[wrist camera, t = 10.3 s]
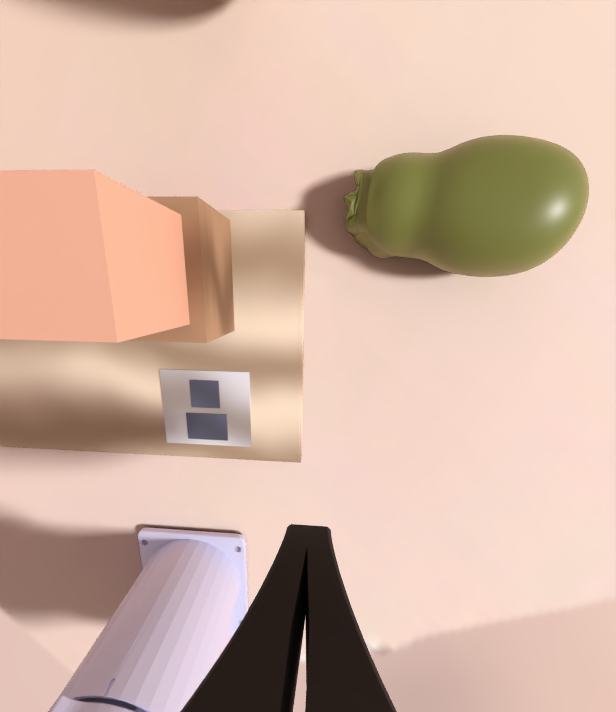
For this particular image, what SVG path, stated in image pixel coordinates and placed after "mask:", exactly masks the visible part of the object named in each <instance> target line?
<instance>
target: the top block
mask: <svg viewBox="0 0 616 712" xmlns="http://www.w3.org/2000/svg"><path fill="white" fill-rule="evenodd" d="M189 324H190V320H189V308H188V295H187V282H186V270H185V257H184V244H183V232H182V219H181V214H179V213H177V212H175V211H173V210H171V209H169V208H167V207H165V206H163V205H161V204H159V203H157V202H155V201H153V200H151V199H150V198H148V197H146V196H144V195H142V194H140V193H138V192H136V191H134V190H132V189H130V188H128V187H126V186H124V185H122V184H120V183H118V182H117V181H115V180H113V179H111V178H109V177H107V176H105V175H103V174H101V173H99V172H97V171H95V170H10V171H0V339H10V340H45V341H80V342H115V343H118V342H122V341H126V340H130V339H134V338H138V337H142V336H146V335H150V334H154V333H158V332H162V331H166V330H169V329H173V328H177V327H181V326H185V325H189Z"/></svg>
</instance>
